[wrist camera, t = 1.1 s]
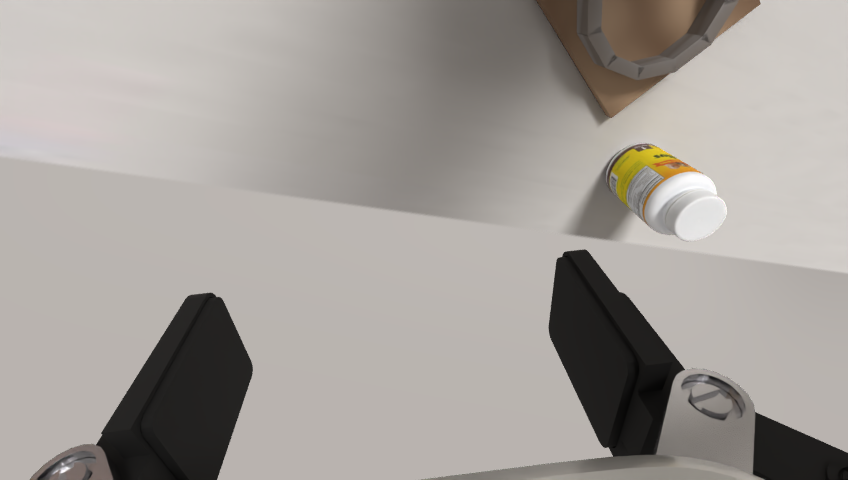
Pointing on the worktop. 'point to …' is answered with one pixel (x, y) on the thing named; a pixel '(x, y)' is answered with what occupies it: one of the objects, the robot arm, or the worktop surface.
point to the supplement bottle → (666, 192)
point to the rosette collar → (637, 40)
